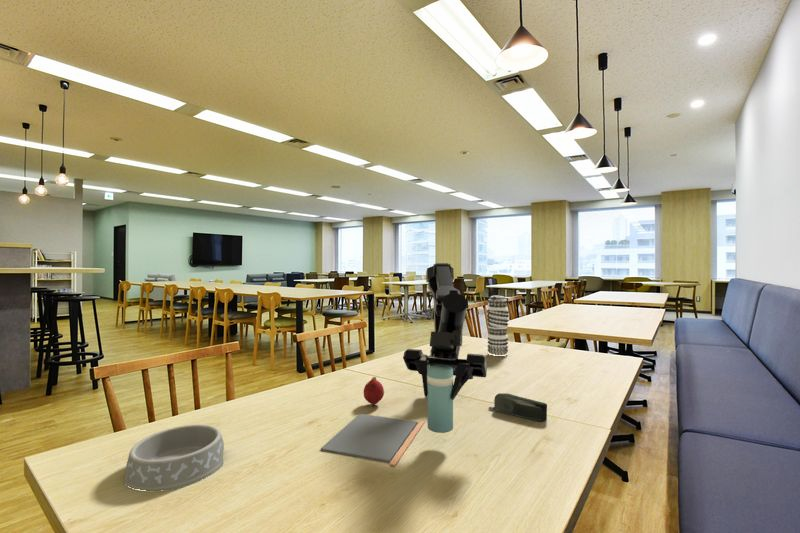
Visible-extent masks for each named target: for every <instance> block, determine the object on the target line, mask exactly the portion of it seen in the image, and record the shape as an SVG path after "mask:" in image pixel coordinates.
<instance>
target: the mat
mask: <svg viewBox="0 0 800 533" xmlns="http://www.w3.org/2000/svg"><path fill="white" fill-rule="evenodd" d="M418 423H419V421H416V420H415V421H414V420H410V419H409V420H408V419H401V418H394V417H393V418H392V417H387V416H378V415H371V414H366V413H365V414H364V413H359V414H358V415H356V417H355V416H354V418H353V419H352V420H350V421H349V422H348V423H347V424H346V425H345V426H344V427H343V428H341V429H340V430H339V431H338V432H337V433H336V434H335V435H334V436H333V437H332V438H331V439H329V440H328V441H327V442H326V443H325V444H324V445H322V446H321V447H320V451H322V452H323V451H324V452H329V453H335V454H340V455H347V456H353V457H356V458H357V457H358V458H361V459H369V460H374V461H379V462H386V463H390V462H391V461H392V460H393V458H394V457H395V455H396V454H397V453H398V451H399V450H400V448H401V447H402V446H403V444H404V443H405V441H406V440H407V438H408V437H409V436H410V434H411V433H412V431H413V430H414V429H415V427H416V426H417V424H418Z"/></svg>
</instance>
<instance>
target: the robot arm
mask: <svg viewBox="0 0 800 533" xmlns="http://www.w3.org/2000/svg"><path fill="white" fill-rule="evenodd" d="M454 273H455V272H454V267H452V265H451V263H448V262H446V263H445V262H439V263H438V262H435V263H434V264H433V265H431V266H430V267H428V268H426V271H425V279H426V280H425V281H426V283H427V284H428V286H427V288H428V290H429V292H430V293H431V295H432V297H433V320H434V321H433V324H434V331H431V332H430V337H429V338H430V339H429V346H430V347H431V348H430V351H429V354H430V355H427V354H426V353H425V354H424V353H423V350H422V349H414V348H407V349H406V350H404V353H403V356H402V359H403V361H404V364H405V367H406V368H407V370H409V371H413V372H418V374H419V375H421V378H422V388H423V394H424V397H425V398H426V397H427V398H428V395H427V368H428V367H430V366H434V365H444V366H449V367H452V368H453V377H455V378H454V379H453V388H452V394H451V399H452V400H453V401H454V400H455V399H456V397H457V395H458V393H459V392H460V391H461V389H462V388H463V386H465V384H466V383H467V382H468V381H469V380H473V379H474V377H475V378H476V377H477V378H486V377H487V373H488V364H487V358H486V356H485V355H484V354H480V353H467V355H466V358H465V359H463V358H459V355H460V350H461V347H462V346H463V329H464V322H465V320H466V314H467V309H469V303H468V299H467V298H466V297H465V296H463V294H461V292H460V291H461V290H459V289H458V288H456V287H454V280H455V276H454V275H455V274H454Z"/></svg>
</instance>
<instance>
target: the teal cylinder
mask: <svg viewBox="0 0 800 533" xmlns="http://www.w3.org/2000/svg"><path fill="white" fill-rule="evenodd" d="M453 384H454V375H453V368H452V367H449V366H444V365H434V366H430V367H428V368H427V429H428V430H429V431H431V432H434V433H437V434H438V433H439V434H444V433H445V434H446V433H449V432H451V431H452V430H453V429H454V400H452V399H451V394H452V388H453Z"/></svg>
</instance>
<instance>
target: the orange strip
mask: <svg viewBox="0 0 800 533" xmlns="http://www.w3.org/2000/svg"><path fill="white" fill-rule="evenodd" d="M424 424H425V420H424V421H423V420H420V421H418V423H417V425H416V426H415V427H414V429H413V430H412V432H411V433H410V434H409V436H408V437H407V439H406V440H405V441H404V443H403V444H402V446H401V447H400V449H399V450H398V451H397V453H396V454H395V456H394V457H393V458H392V460H391V461H390V462H389V466H391V467H396V466H397V465H398V463H399V461H400V460H401V458H402V457H403V455H404V454H405V452H406V451H407V449H409V446H410V445H411V444H412V442H414V439H415V437H416V436H417V435H418V433H419V432H420V431H421V429H422V428H423V426H424Z"/></svg>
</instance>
